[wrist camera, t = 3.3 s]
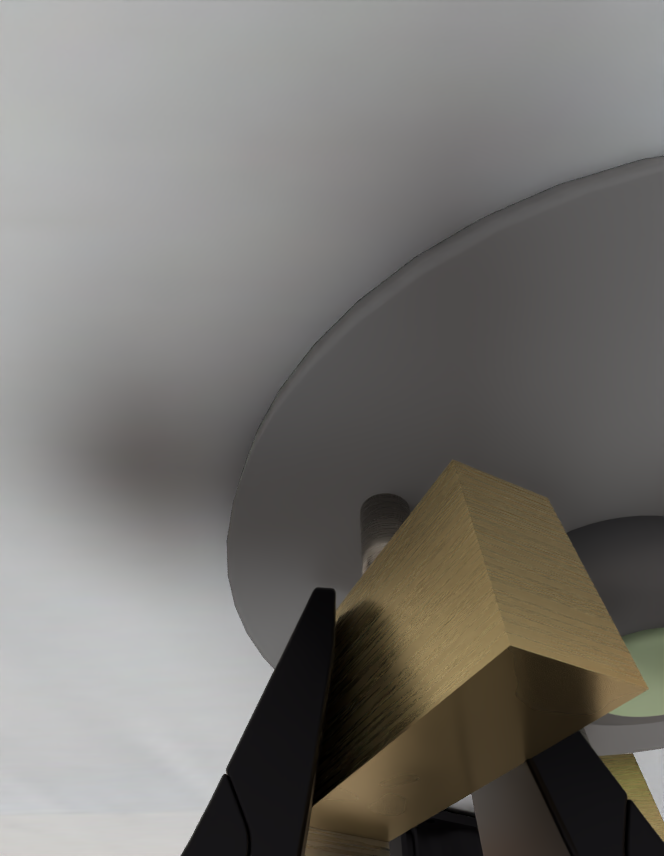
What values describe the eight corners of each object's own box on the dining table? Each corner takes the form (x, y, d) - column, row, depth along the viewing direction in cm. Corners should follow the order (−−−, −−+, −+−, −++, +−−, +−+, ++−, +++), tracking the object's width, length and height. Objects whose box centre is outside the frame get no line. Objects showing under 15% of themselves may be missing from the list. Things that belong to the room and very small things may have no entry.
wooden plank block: (503, 414, 9) (670, 729, 5) (354, 602, 13) (358, 890, 8) (428, 381, 9) (523, 687, 4) (296, 583, 13) (264, 873, 8)
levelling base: (1284, 422, 10) (1661, 543, 7) (608, 763, 21) (650, 869, 18) (528, -171, 6) (711, -467, 3) (160, 644, 17) (119, 759, 14)
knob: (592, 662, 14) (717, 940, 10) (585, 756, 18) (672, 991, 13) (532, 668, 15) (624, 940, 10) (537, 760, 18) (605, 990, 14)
